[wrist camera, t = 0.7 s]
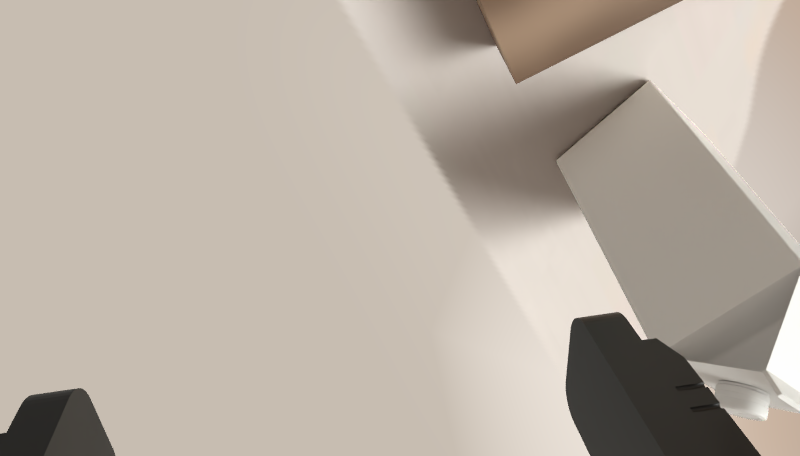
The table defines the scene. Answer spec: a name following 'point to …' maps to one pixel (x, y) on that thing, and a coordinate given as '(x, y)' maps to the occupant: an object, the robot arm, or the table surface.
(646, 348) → the robot arm
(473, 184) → the table surface
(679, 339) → the milk carton
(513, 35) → the walnut base
